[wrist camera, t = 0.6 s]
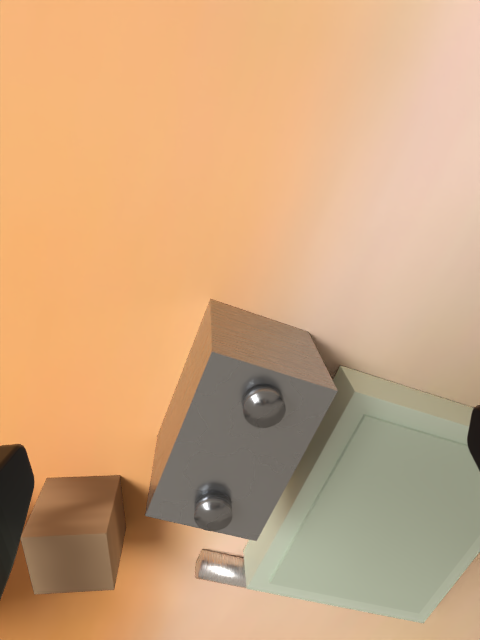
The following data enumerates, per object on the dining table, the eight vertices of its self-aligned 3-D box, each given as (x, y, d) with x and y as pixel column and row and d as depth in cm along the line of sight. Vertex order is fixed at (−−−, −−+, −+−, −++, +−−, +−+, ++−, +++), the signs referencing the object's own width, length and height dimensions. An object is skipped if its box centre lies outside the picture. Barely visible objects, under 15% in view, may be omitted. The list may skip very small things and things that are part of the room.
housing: (307, 330, 23) (342, 399, 17) (246, 457, 26) (257, 552, 20) (210, 297, 22) (211, 359, 16) (157, 434, 24) (143, 527, 19)
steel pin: (296, 575, 30) (306, 567, 29) (297, 602, 29) (308, 594, 28) (196, 554, 29) (204, 545, 28) (193, 582, 28) (201, 573, 27)
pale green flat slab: (526, 424, 26) (559, 456, 23) (407, 586, 31) (424, 626, 28) (340, 365, 23) (356, 393, 21) (243, 551, 28) (246, 591, 26)
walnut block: (120, 474, 25) (106, 533, 22) (126, 526, 27) (113, 589, 23) (47, 477, 25) (20, 537, 21) (57, 529, 27) (34, 594, 23)
